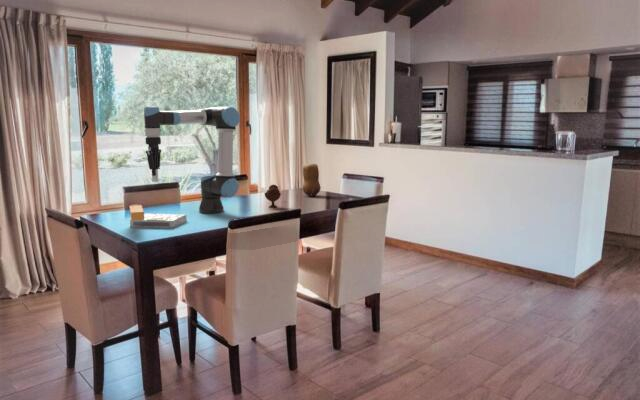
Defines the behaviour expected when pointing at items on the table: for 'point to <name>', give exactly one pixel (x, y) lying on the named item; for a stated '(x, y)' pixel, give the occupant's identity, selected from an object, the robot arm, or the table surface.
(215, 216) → the table surface
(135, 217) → the long orange block
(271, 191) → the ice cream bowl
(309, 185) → the butternut squash
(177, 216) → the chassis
